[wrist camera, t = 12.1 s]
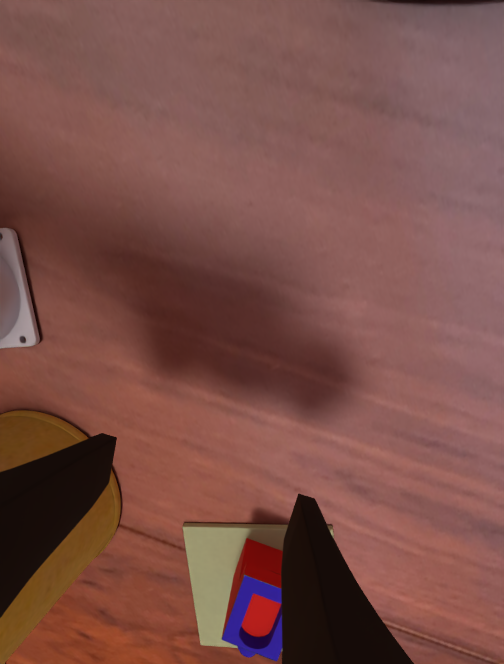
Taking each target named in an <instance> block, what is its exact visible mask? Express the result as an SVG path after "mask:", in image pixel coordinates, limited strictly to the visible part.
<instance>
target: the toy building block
mask: <svg viewBox="0 0 504 664" xmlns="http://www.w3.org/2000/svg"><path fill="white" fill-rule="evenodd" d="M282 553H283V551H281V550H278V549H276V548H273V547H270V546H268V545H265V544H262V543H259V542H257V541H254V540H251V539H248V538H246V541H245V544H244V547H243V550H242V552H241V555H240V558H239V561H238V564H237V567H236V570H235V573H234V577H233V582H232V587H231V592H230V597H229V602H228V608H227V613H226V618H225V623H224V628H223V634H222V639H221V640H223V641H225V642H228V643H231V644H233V645H236V646H238V649H239V651H240V652H241V654H242V655H244V656H246V657H252V656H254V655H255V654H259V655H261V656H264V657H266V658H269V659H271V660H274V661H277V660H278V657H279V655H280V652H281V650H282V601H281V565H282Z"/></svg>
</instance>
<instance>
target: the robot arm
mask: <svg viewBox="0 0 504 664" xmlns="http://www.w3.org/2000/svg"><path fill="white" fill-rule="evenodd" d="M1 235H2V236H3V238H1ZM24 337H25V338H26V341H25V339H24ZM39 341H40V337H39V333H38V328H37V324H36V319H35V315H34V310H33V306H32V301H31V297H30V292H29V287H28V283H27V278H26V274H25V269H24V265H23V260H22V256H21V251H20V246H19V242H18V237H17V234H16V232H15V231H14V230H13V229H11V228H0V348H12V347H26V346H34V345H37V344H38V343H39ZM116 440H117V438H116V437H113V436H110V435H107V434H103V433H101V434H99V435H96V436H93V437H91V438H88V439H86V440H84V441H81V442H79V443H76V444H74V445H72V446H69V447H67V448H64V449H62V450H59V451H57V452H54V453H52V454H49V455H47V456H44V457H42V458H39V459H36V460H33V461H31V462H28V463H25V464H22V465H20V466H17V467H14V468H11V469H8V470H5V471H2V472H0V618H1V617H2V615H3V614H4V613H5V611H6V610H7V609H8V607H9V606H10V605H11V603H12V602H13V601H14V599H15V598H16V597H17V595H18V594H19V593H20V591H21V590H22V589H23V587H24V586H25V585H26V583H27V582H28V581H29V580H30V578H31V577H32V576H33V575H34V574H35V572H36V571H37V570H38V569H39V568H40V566H41V565H42V564H43V563H44V562H45V561H46V560H47V558H48V557H49V556H50V555H51V554H52V553H53V552H54V550H55V549H56V548H57V547H58V546H59V545H60V544H61V542H62V541H63V540H64V539H65V538H66V537H67V536H68V535H69V533H70V532H71V531H72V530H73V529H74V528H75V527H76V525H77V524H78V523H79V522H80V521H81V520H82V519H83V517H84V516H85V515H86V514H87V513H88V512H89V510H90V509H91V508H92V507H93V505H94V504H95V503H96V501H97V500H98V498H99V497H100V495H101V494H102V493H103V491H104V490H105V488H106V487H107V485H108V484H109V481H110V475H111V469H112V463H113V457H114V451H115V445H116ZM281 601H282V664H414V663H413V662H412V661H411V659H410V658H409V657H408V655H407V654H406V653H405V651H404V650H403V649H402V647H401V646H400V645H399V643H398V642H397V641H396V639H395V638H394V637H393V635H392V634H391V633H390V631H389V630H388V628H387V627H386V626H385V624H384V623H383V621H382V620H381V619H380V617H379V616H378V614H377V613H376V611H375V610H374V608H373V607H372V605H371V603H370V602H369V600H368V599H367V597H366V596H365V594H364V593H363V591H362V590H361V588H360V586H359V585H358V583H357V581H356V579H355V578H354V576H353V574H352V573H351V571H350V569H349V567H348V565H347V564H346V562H345V560H344V558H343V556H342V554H341V552H340V550H339V548H338V546H337V544H336V542H335V541H334V538H333V536H332V534H331V532H330V530H329V528H328V526H327V524H326V522H325V520H324V517H323V515H322V513H321V511H320V509H319V506H318V504H317V502H316V500H315V499H314V498H311V497H308V496H304V495H301V494H298V497H297V500H296V503H295V506H294V509H293V512H292V515H291V518H290V521H289V524H288V527H287V530H286V533H285V537H284V542H283V553H282V565H281Z"/></svg>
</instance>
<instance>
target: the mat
mask: <svg viewBox="0 0 504 664" xmlns="http://www.w3.org/2000/svg"><path fill="white" fill-rule="evenodd" d="M327 526H328V525H327ZM287 527H288V525H274V524H220V523H184V524H183V534H184V540H185V546H186V553H187V559H188V566H189V572H190V579H191V585H192V592H193V598H194V605H195V611H196V618H197V624H198V631H199V637H200V644H201V645H207V646H220V647H233V648H238V646H236V645H233V644H231V643H228V642H225V641H223V640H221V639H222V634H223V628H224V623H225V618H226V613H227V608H228V602H229V597H230V592H231V587H232V582H233V577H234V573H235V570H236V567H237V564H238V561H239V558H240V555H241V552H242V550H243V547H244V544H245V541H246V538H248V539H251V540H254V541H257V542H259V543H262V544H265V545H268V546H270V547H273V548H276V549H278V550H281V551H283V542H284V537H285V533H286V530H287ZM328 528H329V530H330V532H331V534H332V536H333V538H334V535H333V526H328ZM281 651H282V650H281Z"/></svg>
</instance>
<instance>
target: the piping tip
mask: <svg viewBox="0 0 504 664" xmlns="http://www.w3.org/2000/svg"><path fill="white" fill-rule="evenodd" d="M86 439H88V437H87V436H85V435H84V434H83V433H82V432H80V431H79V430H78V429H76V428H75V427H73V426H72V425H70V424H69V423H67V422H65V421H63V420H61V419H59V418H56V417H54V416H51V415H48V414H45V413H41V412H36V411H28V410H18V411H10V412H6V413H3V414H0V472H2V471H5V470H8V469H11V468H14V467H17V466H20V465H22V464H25V463H28V462H31V461H33V460H36V459H39V458H42V457H44V456H47V455H49V454H52V453H54V452H57V451H59V450H62V449H64V448H67V447H69V446H72V445H74V444H76V443H79V442H81V441H84V440H86ZM120 511H121V501H120V493H119V488H118V484H117V481H116V478H115V476H114V473H113V471H112V469H111V475H110V481H109V484H108V485H107V487H106V488H105V490H104V491H103V493H102V494H101V495H100V497H99V498H98V500H97V501H96V503H95V504H94V505H93V507H92V508H91V509H90V510H89V512H88V513H87V514H86V515H85V516H84V517H83V519H82V520H81V521H80V522H79V523H78V524H77V525H76V527H75V528H74V529H73V530H72V531H71V532H70V533H69V535H68V536H67V537H66V538H65V539H64V540H63V541H62V542H61V544H60V545H59V546H58V547H57V548H56V549H55V550H54V552H53V553H52V554H51V555H50V556H49V557H48V558H47V560H46V561H45V562H44V563H43V564H42V565H41V566H40V568H39V569H38V570H37V571H36V572H35V574H34V575H33V576H32V577H31V578H30V580H29V581H28V582H27V583H26V585H25V586H24V587H23V589H22V590H21V591H20V593H19V594H18V595H17V597H16V598H15V599H14V601H13V602H12V603H11V605H10V606H9V607H8V609H7V610H6V611H5V613H4V614H3V615H2V617H1V618H0V664H4V663H5V662H6V661H7V660H8V658H9V657H10V656H11V655H12V654H13V653H14V651H15V650H16V649H17V648H18V647H19V645H20V644H21V643H22V642H23V641H24V640H25V638H26V637H27V636H28V635H29V634H30V633H31V631H32V630H33V629H34V628H35V627H36V625H37V624H38V623H39V622H40V621H41V620H42V618H43V617H44V616H45V615H46V614H47V612H48V611H49V610H50V609H51V608H52V607H53V605H54V604H55V603H56V602H57V601H58V599H59V598H60V597H61V596H62V595H63V594H64V592H65V591H66V590H67V589H68V588H69V587H70V585H71V584H72V583H73V582H74V581H75V580H76V579H77V577H78V576H79V575H80V574H81V573H82V572H83V570H84V569H85V568H86V567H87V566H88V565H89V564H90V562H91V561H92V560H93V559H94V558H96V557H97V556H98V555H99V554H100V553H101V552H102V551H103V550H104V549H105V548H106V546H107V545H108V544H109V542H110V541H111V539H112V538H113V536H114V534H115V532H116V529H117V526H118V523H119V519H120Z"/></svg>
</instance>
